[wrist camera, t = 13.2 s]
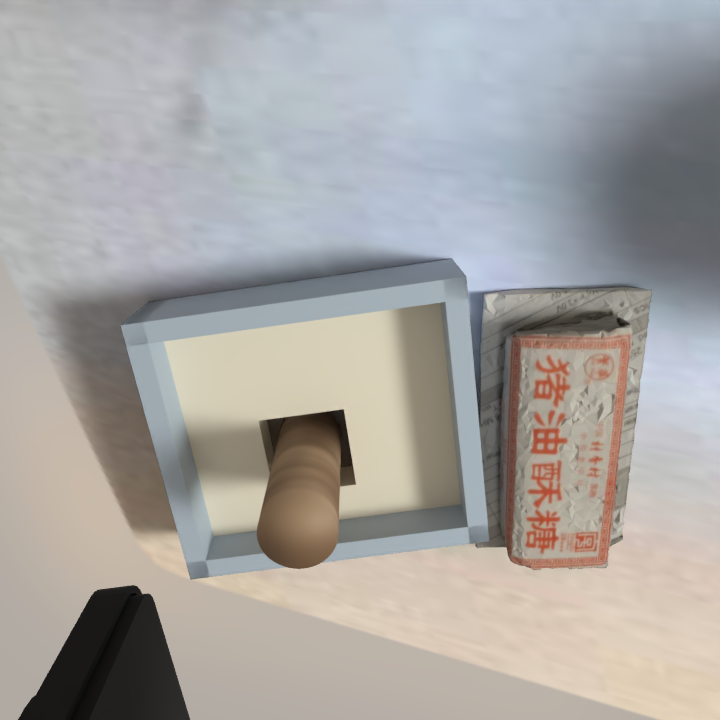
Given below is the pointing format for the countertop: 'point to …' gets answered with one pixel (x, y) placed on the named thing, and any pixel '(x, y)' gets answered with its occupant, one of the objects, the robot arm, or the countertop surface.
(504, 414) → the packaged product
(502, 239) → the countertop surface
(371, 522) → the box
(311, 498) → the dowel
